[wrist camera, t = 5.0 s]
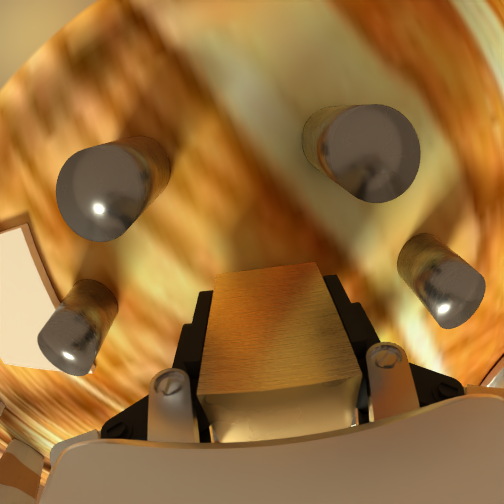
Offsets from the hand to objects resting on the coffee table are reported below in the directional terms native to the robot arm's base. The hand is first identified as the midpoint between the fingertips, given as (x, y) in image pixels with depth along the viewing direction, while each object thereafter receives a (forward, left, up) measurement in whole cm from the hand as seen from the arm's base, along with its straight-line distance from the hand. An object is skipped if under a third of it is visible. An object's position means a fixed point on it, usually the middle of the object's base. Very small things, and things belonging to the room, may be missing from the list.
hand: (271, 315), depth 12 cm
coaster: (+17, 0, -2) cm, 17 cm away
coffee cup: (+40, +27, -2) cm, 48 cm away
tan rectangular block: (0, 0, -1) cm, 1 cm away
